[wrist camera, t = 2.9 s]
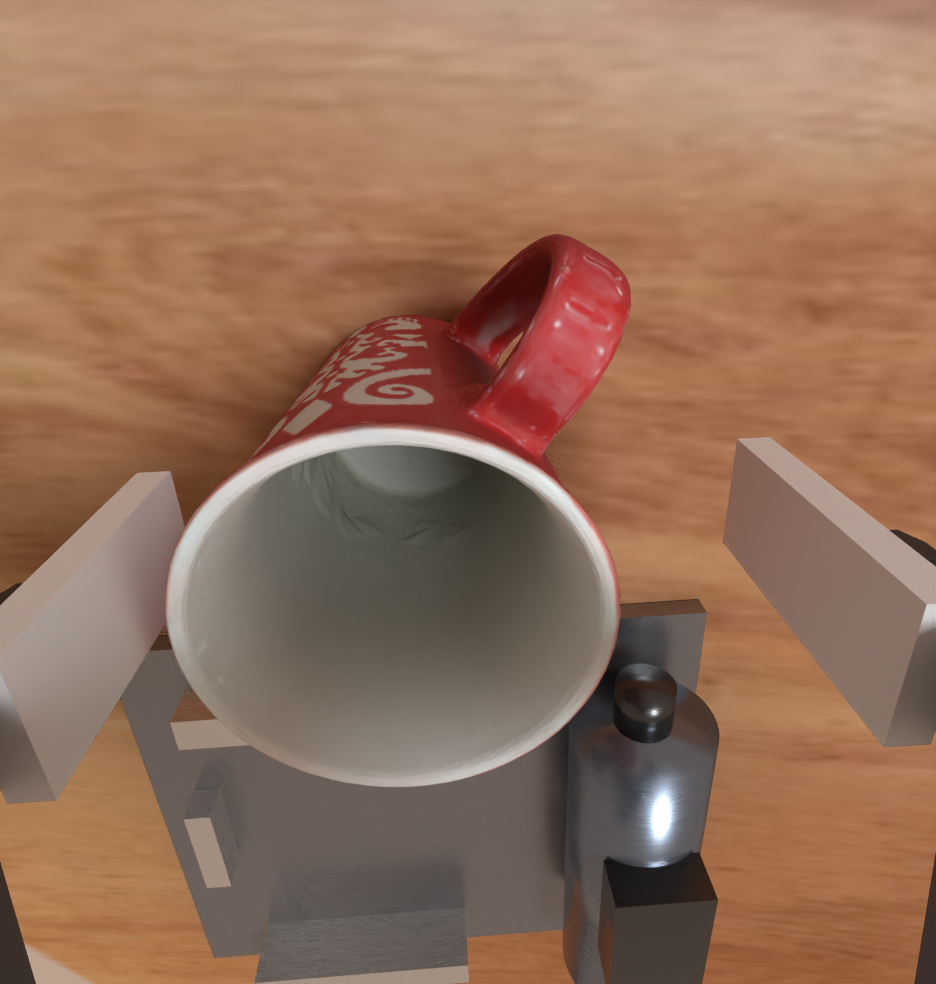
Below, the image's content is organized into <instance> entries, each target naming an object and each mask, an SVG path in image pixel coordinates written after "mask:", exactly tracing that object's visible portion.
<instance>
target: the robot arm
mask: <svg viewBox="0 0 936 984" xmlns="http://www.w3.org/2000/svg"><path fill="white" fill-rule="evenodd" d="M184 528H185V525H184V522H183V518H182V514H181V510H180V506H179V502H178V498H177V495H176V491H175V487H174V483H173V479H172V475H171V471H162V472H144V473H136V474H135V475H134V476H133V477H132V478H131V479H130V480H129V481H128V482H127V483H126V484H125V485H124V486H123V487H122V488H121V489H120V490H119V491H118V492H117V493H116V494H115V495H114V496H113V497H111V498H110V499H109V500H108V501H107V502H106V503H105V504H104V505H103V506H102V507H101V508H100V509H99V510H98V511H97V512H96V513H95V514H94V515H93V516H92V517H91V518H90V519H89V520H88V521H87V522H86V523H85V524H84V525H83V526H82V527H81V528H80V529H79V530H77V531H76V532H75V533H74V534H73V535H72V536H71V537H70V538H69V539H68V540H67V541H66V542H65V543H64V544H63V545H62V546H61V547H60V548H59V549H58V550H57V551H56V552H55V553H54V554H53V555H52V556H51V557H50V558H49V559H48V560H47V561H46V562H44V563H43V564H42V565H41V566H40V567H39V568H38V569H37V570H36V571H35V572H34V573H33V574H32V575H31V576H30V577H29V578H28V579H27V580H26V581H25V582H24V583H17V584H16V585H14V586H12V587H10V588H9V589H7V590H5V591H4V592H2V593H0V789H1V791H2V793H3V795H4V797H5V799H6V802H7V804H9V803H24V802H40V801H56V800H57V799H58V798H59V796H60V794H61V793H62V791H63V789H64V788H65V786H66V785H67V783H68V781H69V780H70V778H71V777H72V775H73V773H74V772H75V770H76V768H77V767H78V765H79V764H80V762H81V760H82V759H83V757H84V755H85V754H86V752H87V751H88V749H89V747H90V746H91V744H92V742H93V741H94V739H95V738H96V736H97V734H98V733H99V731H100V729H101V728H102V726H103V725H104V723H105V721H106V720H107V718H108V716H109V715H110V713H111V712H112V710H113V708H114V707H115V705H116V703H117V702H118V700H119V699H120V697H121V695H122V694H123V692H124V690H125V689H126V687H127V686H128V684H129V682H130V681H131V679H132V678H133V676H134V674H135V673H136V671H137V669H138V668H139V666H140V665H141V663H142V661H143V660H144V658H145V656H146V655H147V653H148V652H149V650H150V648H151V647H152V645H153V643H154V642H155V640H156V639H157V637H158V635H159V634H160V632H161V630H162V629H163V627H164V626H165V624H166V609H165V591H166V581H167V575H168V570H169V566H170V562H171V559H172V556H173V552H174V549H175V547H176V545H177V542H178V540H179V538H180V536H181V534H182V532H183V530H184ZM723 543H724V544H725V545H726V546H727V548H728V549H729V550H730V552H731V553H732V554H733V555H734V557H735V558H736V559H737V561H738V562H739V563H740V564H741V566H742V567H743V568H744V570H745V571H746V572H747V573H748V575H749V576H750V577H751V578H752V580H753V581H754V582H755V584H756V585H757V586H758V587H759V589H760V590H761V591H762V593H763V594H764V595H765V596H766V598H767V599H768V600H769V602H770V603H771V604H772V605H773V607H774V608H775V609H776V610H777V612H778V613H779V614H780V616H781V617H782V618H783V619H784V621H785V622H786V623H787V625H788V626H789V627H790V628H791V630H792V631H793V632H794V634H795V635H796V636H797V637H798V639H799V640H800V641H801V642H802V644H803V645H804V646H805V648H806V649H807V650H808V651H809V653H810V654H811V655H812V657H813V658H814V659H815V660H816V662H817V663H818V664H819V666H820V667H821V668H822V669H823V671H824V672H825V673H826V674H827V676H828V677H829V678H830V680H831V681H832V682H833V683H834V685H835V686H836V687H837V689H838V690H839V691H840V692H841V694H842V695H843V696H844V697H845V699H846V700H847V701H848V703H849V704H850V705H851V706H852V708H853V709H854V710H855V712H856V713H857V714H858V715H859V717H860V718H861V719H862V721H863V722H864V723H865V724H866V726H867V727H868V728H869V729H870V731H871V732H872V733H873V735H874V736H875V737H876V738H877V740H878V741H879V742H880V744H881V745H882V746H883V747H898V746H913V745H929V744H931V742H932V739H933V736H934V733H935V731H936V550H935V549H934V548H932V547H931V546H930V545H928V544H927V543H926V542H924V541H921V540H919V539H917V538H915V537H912V536H910V535H908V534H906V533H903V532H901V531H899V530H888V529H887V528H886V527H884V526H883V525H882V524H880V523H879V522H878V521H877V520H875V519H874V518H873V517H871V516H870V515H869V514H868V513H866V512H865V511H864V510H862V509H861V508H860V507H859V506H857V505H856V504H855V503H854V502H852V501H851V500H850V499H848V498H847V497H846V496H845V495H843V494H842V493H841V492H839V491H838V490H837V489H836V488H834V487H833V486H832V485H830V484H829V483H828V482H827V481H825V480H824V479H823V478H822V477H820V476H819V475H818V474H816V473H815V472H814V471H813V470H811V469H810V468H809V467H807V466H806V465H805V464H804V463H802V462H801V461H800V460H798V459H797V458H796V457H795V456H793V455H792V454H791V453H789V452H788V451H787V450H786V449H784V448H783V447H782V446H781V445H779V444H778V443H777V442H775V441H774V440H773V439H772V438H770V437H764V438H746V439H737V445H736V452H735V459H734V466H733V474H732V481H731V488H730V495H729V503H728V510H727V517H726V524H725V532H724V539H723ZM0 984H36V983H35V979H34V976H33V973H32V969H31V966H30V962H29V959H28V955H27V952H26V949H25V945H24V942H23V938H22V935H21V931H20V928H19V925H18V921H17V918H16V914H15V911H14V907H13V904H12V901H11V897H10V894H9V890H8V887H7V884H6V880H5V877H4V873H3V870H2V866H1V863H0ZM914 984H936V854H935V861H934V867H933V873H932V879H931V885H930V891H929V897H928V904H927V910H926V916H925V922H924V928H923V934H922V940H921V946H920V953H919V959H918V965H917V971H916V977H915V983H914Z"/></svg>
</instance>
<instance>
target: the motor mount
mask: <svg viewBox="0 0 936 984" xmlns="http://www.w3.org/2000/svg"><path fill="white" fill-rule="evenodd" d="M620 606H621V614H620V621H619V628H618V635H617V641H616V644H615V648H614V651H613V654H612V656H611V659H610V661H609V664H608V666H607V669H606V671H605V673H604V675H603V677H602V678H601V680H600V682H599V684H598V686H597V688H596V689H595V690H594V692H593V693H592V695H591V696H590V698H589V699H588V700H587V702H586V703H585V704H584V705H583V706H582V708H581V709H580V710H579V711H578V712H577V713H576V714H575V715H574V717H573V718H572V719H571V720H570V721H569V722H568V723H567V724H566V725H565V726H563V727H562V728H561V729H560V730H559V731H558V732H557V733H556V734H554V735H553V736H552V737H550V738H549V739H548V740H546V741H545V742H544V743H542V744H541V745H539V746H538V747H536V748H535V749H533V750H532V751H530V752H528V753H527V754H525V755H523V756H521V757H519V758H517V759H515V760H513V761H511V762H509V763H507V764H504V765H502V766H500V767H498V768H495V769H493V770H491V771H488V772H485V773H482V774H479V775H475V776H472V777H468V778H464V779H460V780H456V781H452V782H447V783H442V784H435V785H427V786H416V787H377V786H365V785H359V784H352V783H344V782H339V781H335V780H332V779H328V778H324V777H320V776H317V775H313V774H310V773H307V772H304V771H301V770H298V769H296V768H293V767H291V766H288V765H286V764H283V763H281V762H279V761H276V760H274V759H273V758H271V757H269V756H267V755H265V754H264V753H262V752H260V751H258V750H257V749H255V748H254V747H252V746H251V745H249V744H248V743H246V742H245V741H243V740H242V739H240V738H239V737H238V736H237V735H235V734H234V733H233V732H232V731H230V730H229V729H228V728H227V727H226V726H225V725H224V724H223V723H221V722H220V721H219V720H218V719H217V718H216V717H215V716H214V715H213V714H212V713H211V711H210V710H209V709H208V708H207V707H206V706H205V705H204V704H203V702H202V701H201V700H200V698H199V697H198V696H197V694H196V693H195V692H194V690H193V689H192V688H191V687H190V685H189V683H188V681H187V679H186V677H185V675H184V674H183V672H182V671H181V669H180V667H179V665H178V662H177V660H176V658H175V656H174V653H173V648H172V645H171V642H170V639H169V636H158V637H157V639H156V640H155V642H154V643H153V645H152V647H151V648H150V650H149V652H148V653H147V655H146V656H145V658H144V660H143V661H142V663H141V665H140V666H139V668H138V669H137V671H136V673H135V674H134V676H133V678H132V679H131V681H130V682H129V684H128V686H127V687H126V689H125V690H124V692H123V694H122V695H121V697H120V698H121V701H122V703H123V706H124V709H125V712H126V715H127V717H128V720H129V723H130V726H131V728H132V731H133V734H134V737H135V740H136V742H137V745H138V748H139V751H140V753H141V756H142V759H143V762H144V764H145V767H146V770H147V773H148V776H149V778H150V781H151V784H152V787H153V789H154V792H155V795H156V798H157V801H158V803H159V806H160V809H161V812H162V814H163V817H164V820H165V823H166V825H167V828H168V831H169V834H170V837H171V839H172V842H173V845H174V848H175V850H176V853H177V856H178V859H179V862H180V864H181V867H182V870H183V873H184V875H185V878H186V881H187V884H188V886H189V889H190V892H191V895H192V898H193V900H194V903H195V906H196V909H197V911H198V914H199V917H200V920H201V923H202V925H203V928H204V931H205V934H206V936H207V939H208V942H209V945H210V947H211V950H212V953H213V956H214V958H220V957H232V956H244V955H257V954H261V955H260V960H259V965H258V969H257V974H256V979H255V984H451V983H463V982H469V972H468V952H467V937H477V936H489V935H501V934H514V933H526V932H538V931H550V930H562V929H563V955H564V959H565V963H566V966H567V969H568V971H569V973H570V975H571V977H572V979H573V981H574V982H575V984H702V980H703V975H704V970H705V965H706V960H707V954H708V949H709V944H710V939H711V934H712V928H713V923H714V918H715V913H716V908H717V903H718V899H717V896H716V894H715V891H714V888H713V886H712V883H711V881H710V878H709V876H708V873H707V871H706V868H705V866H704V863H703V861H702V858H701V856H700V853H701V847H702V841H703V835H704V829H705V823H706V817H707V811H708V805H709V799H710V793H711V787H712V781H713V775H714V769H715V763H716V757H717V751H718V745H719V729H718V725H717V722H716V719H715V717H714V715H713V713H712V712H711V710H710V708H709V707H708V706H707V705H706V703H705V702H704V701H703V700H702V699H701V698H700V697H699V696H697V695H696V687H697V680H698V673H699V666H700V659H701V651H702V644H703V637H704V630H705V623H706V615H707V612H706V610H705V609H704V607H703V606H702V604H701V602H700V601H699V599H696V600H681V601H667V602H652V603H637V604H623V605H620Z"/></svg>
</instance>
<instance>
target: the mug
mask: <svg viewBox="0 0 936 984" xmlns="http://www.w3.org/2000/svg"><path fill="white" fill-rule="evenodd" d="M630 307H631V294H630V287H629V283H628V281H627V279H626V276H625V275H624V274H623V272H622V271H621V270H620V269H619V268H618V267H617V266H616V265H615V264H614V263H613V262H612V261H610V260H609V259H608V258H606V257H605V256H603V255H602V254H600V253H599V252H597V251H595V250H593V249H592V248H590V247H588V246H586V245H585V244H583V243H581V242H579V241H578V240H576V239H574V238H571V237H569V236H565V235H560V234H553V235H549V236H546V237H543V238H541V239H539V240H537V241H535V242H533V243H532V244H530V245H529V246H528V247H526V248H525V249H523V250H522V251H521V252H519V253H518V254H517V255H516V256H515V257H514V258H512V259H511V260H510V261H509V262H508V263H507V264H506V265H505V266H504V267H503V268H502V269H501V270H500V271H499V272H498V273H496V274H495V275H494V276H493V277H492V278H491V279H490V280H489V281H488V282H487V284H486V285H484V286H483V287H482V288H481V290H480V291H479V292H478V293H477V294H476V295H475V296H474V297H473V298H472V300H471V301H470V302H469V303H468V304H467V305H466V306H465V308H464V309H463V310H462V311H461V313H460V314H459V315H458V316H457V317H456V318H455V320H454V321H453V322H452V323H448V322H446V321H443V320H439V319H435V318H431V317H427V316H420V315H402V316H393V317H388V318H384V319H381V320H378V321H375V322H373V323H370V324H368V325H366V326H365V327H363V328H361V329H359V330H358V331H356V332H355V333H353V334H352V335H351V336H349V337H348V338H347V339H346V340H344V341H343V342H342V343H341V344H340V345H339V346H338V347H337V348H336V349H335V350H334V352H332V354H331V355H330V356H329V357H328V359H327V360H326V361H325V363H324V364H323V366H322V368H321V369H320V370H319V371H318V372H317V374H316V375H315V376H314V377H313V379H312V380H311V381H310V383H309V384H308V385H307V386H306V387H305V389H304V390H303V391H302V392H301V393H300V394H299V396H298V397H297V399H296V400H295V401H294V403H293V404H292V405H291V407H290V408H289V410H288V411H287V412H286V414H285V415H284V416H283V417H282V418H281V419H280V421H279V422H278V423H277V424H276V426H275V427H274V428H273V430H272V431H271V432H270V433H269V435H268V436H267V437H266V438H265V440H264V441H263V442H262V443H261V444H260V446H259V447H258V448H257V449H256V451H255V452H254V453H253V455H252V456H251V457H250V458H249V460H248V461H247V462H246V463H245V464H244V465H242V466H241V467H239V468H238V469H236V470H235V471H234V472H232V473H231V474H230V475H229V476H228V477H227V478H225V479H224V480H223V481H222V482H221V483H220V484H219V485H218V486H217V487H216V488H215V489H214V490H212V491H211V492H210V493H209V495H208V496H207V497H206V498H205V500H204V501H203V502H202V503H201V505H200V506H199V507H198V508H197V509H196V511H195V512H194V513H193V515H192V516H191V518H190V519H189V521H188V522H187V524H186V526H185V528H184V530H183V532H182V534H181V536H180V538H179V540H178V542H177V545H176V547H175V549H174V552H173V556H172V559H171V562H170V566H169V570H168V575H167V581H166V591H165V609H166V624H167V630H168V636H169V639H170V642H171V645H172V648H173V653H174V656H175V658H176V660H177V662H178V665H179V667H180V669H181V671H182V672H183V674H184V675H185V677H186V679H187V681H188V683H189V685H190V687H191V688H192V689H193V690H194V692H195V693H196V694H197V696H198V697H199V698H200V700H201V701H202V702H203V704H204V705H205V706H206V707H207V708H208V709H209V710H210V711H211V713H212V714H213V715H214V716H215V717H216V718H217V719H218V720H219V721H220V722H221V723H223V724H224V725H225V726H226V727H227V728H228V729H229V730H230V731H232V732H233V733H234V734H235V735H237V736H238V737H239V738H240V739H242V740H243V741H245V742H246V743H248V744H249V745H251V746H252V747H254V748H255V749H257V750H258V751H260V752H262V753H264V754H265V755H267V756H269V757H271V758H273V759H274V760H276V761H279V762H281V763H283V764H286V765H288V766H291V767H293V768H296V769H298V770H301V771H304V772H307V773H310V774H313V775H317V776H320V777H324V778H328V779H332V780H335V781H339V782H344V783H352V784H359V785H365V786H377V787H416V786H427V785H435V784H442V783H447V782H452V781H456V780H460V779H464V778H468V777H472V776H475V775H479V774H482V773H485V772H488V771H491V770H493V769H495V768H498V767H500V766H502V765H504V764H507V763H509V762H511V761H513V760H515V759H517V758H519V757H521V756H523V755H525V754H527V753H528V752H530V751H532V750H533V749H535V748H536V747H538V746H539V745H541V744H542V743H544V742H545V741H546V740H548V739H549V738H550V737H552V736H553V735H554V734H556V733H557V732H558V731H559V730H560V729H561V728H562V727H563V726H565V725H566V724H567V723H568V722H569V721H570V720H571V719H572V718H573V717H574V715H575V714H576V713H577V712H578V711H579V710H580V709H581V708H582V706H583V705H584V704H585V703H586V702H587V700H588V699H589V698H590V696H591V695H592V693H593V692H594V690H595V689H596V688H597V686H598V684H599V682H600V680H601V678H602V677H603V675H604V673H605V671H606V669H607V666H608V664H609V661H610V659H611V656H612V654H613V651H614V648H615V644H616V641H617V635H618V628H619V621H620V614H621V606H620V597H621V595H620V590H619V585H618V578H617V573H616V569H615V564H614V562H613V559H612V556H611V553H610V551H609V549H608V547H607V544H606V542H605V540H604V538H603V536H602V534H601V532H600V531H599V529H598V527H597V526H596V524H595V523H594V521H593V520H592V518H591V517H590V516H589V514H588V513H587V511H586V510H585V509H584V507H583V506H582V505H581V504H580V503H579V502H578V501H577V500H576V499H575V498H574V497H573V496H572V495H571V493H570V492H569V491H568V490H567V489H565V488H564V487H563V486H562V484H561V482H560V480H559V478H558V476H557V474H556V472H555V471H554V469H553V467H552V465H551V463H550V461H549V459H548V458H547V456H546V454H545V453H544V451H545V450H546V448H547V447H548V445H549V444H550V442H551V441H552V439H553V438H554V436H555V434H556V433H557V432H558V431H559V430H561V429H562V427H563V426H564V425H565V424H566V423H567V422H568V421H569V420H570V419H571V418H573V417H574V415H575V414H576V412H577V411H578V410H579V408H580V407H581V406H582V404H583V403H584V402H585V401H586V399H587V398H588V397H589V395H590V394H591V392H592V391H593V389H594V388H595V386H596V385H597V383H598V382H599V380H600V379H601V377H602V376H603V374H604V372H605V371H606V369H607V367H608V365H609V363H610V362H611V360H612V358H613V357H614V354H615V352H616V350H617V347H618V345H619V343H620V341H621V338H622V335H623V332H624V330H625V327H626V323H627V320H628V318H629V313H630ZM523 331H524V332H523ZM522 332H523V335H522V337H521V339H520V340H519V342H518V343H517V345H516V346H515V348H514V349H513V351H512V352H511V354H510V355H509V357H508V358H507V359H506V361H505V362H504V364H503V365H502V367H501V368H500V369H499V367H498V365H497V361H498V359H499V357H500V356H501V354H502V353H503V351H504V350H505V349H506V348H507V346H508V345H509V344H510V343H511V342H512V341H513V340H514V339H515V338H516V337H517V336H518V335H519V334H520V333H522Z"/></svg>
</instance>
